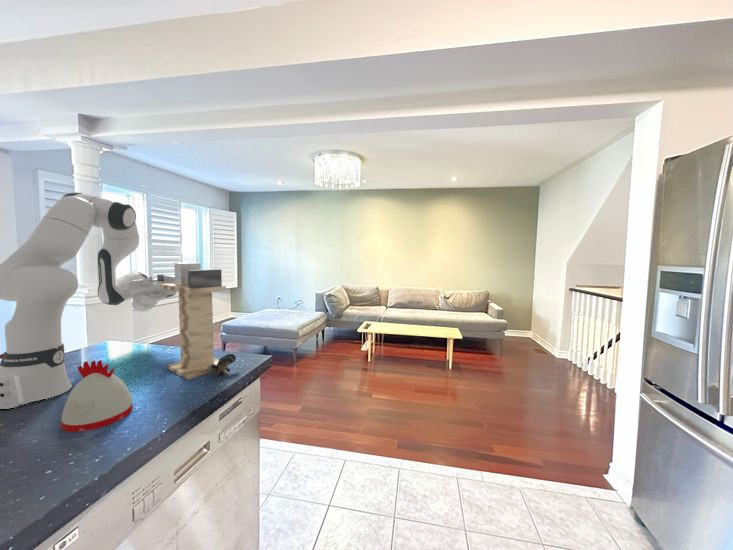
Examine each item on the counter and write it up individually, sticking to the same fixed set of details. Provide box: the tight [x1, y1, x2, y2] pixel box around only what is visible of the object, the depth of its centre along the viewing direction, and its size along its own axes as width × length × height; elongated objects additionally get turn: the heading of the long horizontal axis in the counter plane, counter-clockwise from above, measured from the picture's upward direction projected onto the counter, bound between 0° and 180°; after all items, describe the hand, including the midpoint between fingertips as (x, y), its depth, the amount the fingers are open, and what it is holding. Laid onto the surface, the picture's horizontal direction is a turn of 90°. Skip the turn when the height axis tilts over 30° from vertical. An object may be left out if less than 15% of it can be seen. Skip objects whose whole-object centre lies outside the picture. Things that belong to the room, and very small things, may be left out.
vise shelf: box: [160, 268, 228, 381], centre depth 111 cm, size 24×14×37 cm, turn 55°
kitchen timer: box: [60, 359, 134, 433], centre depth 78 cm, size 14×14×15 cm
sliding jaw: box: [156, 262, 202, 286], centre depth 118 cm, size 26×7×8 cm, turn 55°
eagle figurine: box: [207, 353, 237, 379], centre depth 107 cm, size 8×7×9 cm
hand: (163, 277), depth 125 cm, fingers open, 8 cm apart
